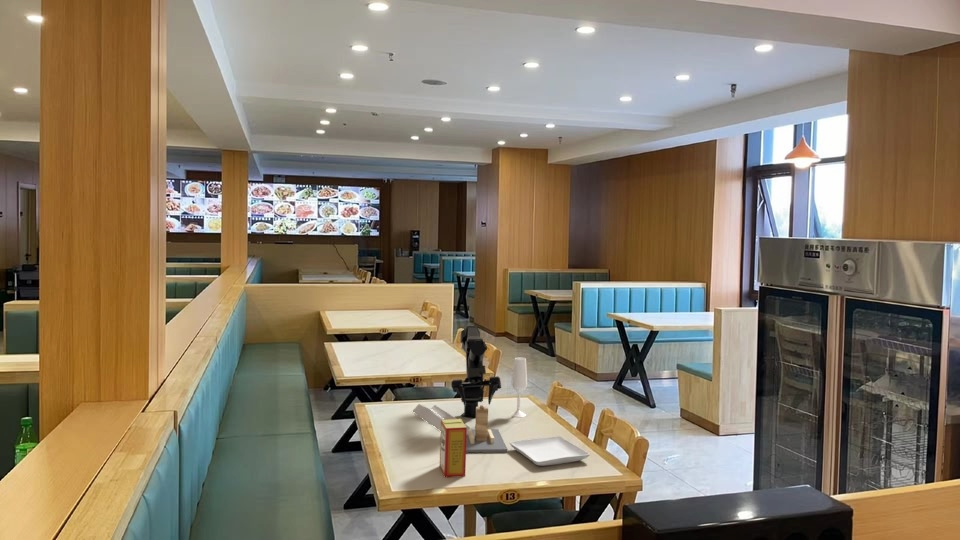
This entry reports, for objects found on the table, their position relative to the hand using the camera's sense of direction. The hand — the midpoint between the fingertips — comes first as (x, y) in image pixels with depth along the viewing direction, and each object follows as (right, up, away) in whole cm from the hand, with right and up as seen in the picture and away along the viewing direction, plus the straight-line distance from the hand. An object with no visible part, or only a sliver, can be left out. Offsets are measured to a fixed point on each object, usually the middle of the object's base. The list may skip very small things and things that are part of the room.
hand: (477, 405), depth 243 cm
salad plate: (+25, -14, -20) cm, 35 cm away
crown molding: (-15, -10, +17) cm, 25 cm away
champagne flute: (+17, -10, +28) cm, 34 cm away
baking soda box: (-8, -14, -36) cm, 40 cm away
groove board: (+1, -12, -8) cm, 14 cm away
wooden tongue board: (+2, -11, -8) cm, 13 cm away
